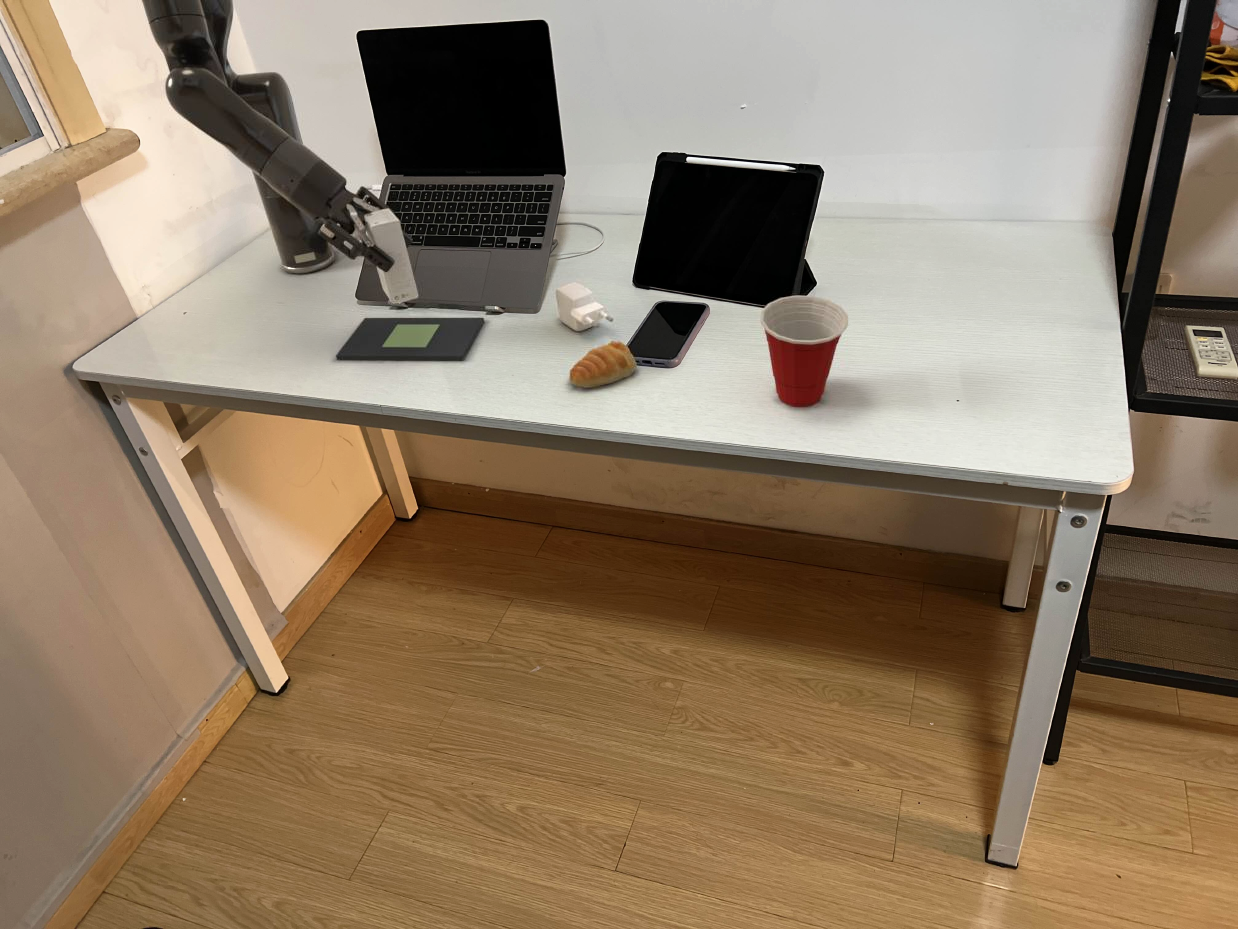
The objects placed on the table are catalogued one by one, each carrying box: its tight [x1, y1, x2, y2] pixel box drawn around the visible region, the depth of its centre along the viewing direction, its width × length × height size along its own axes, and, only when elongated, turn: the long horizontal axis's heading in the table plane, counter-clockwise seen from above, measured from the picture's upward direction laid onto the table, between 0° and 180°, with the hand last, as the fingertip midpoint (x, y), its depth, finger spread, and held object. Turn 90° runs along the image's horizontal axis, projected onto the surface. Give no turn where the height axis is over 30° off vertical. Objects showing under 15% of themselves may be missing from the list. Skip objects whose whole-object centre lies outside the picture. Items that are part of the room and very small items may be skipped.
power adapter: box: [555, 281, 614, 332], centre depth 139 cm, size 11×5×6 cm, turn 33°
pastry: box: [569, 340, 638, 389], centre depth 128 cm, size 9×7×4 cm
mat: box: [335, 317, 485, 362], centre depth 142 cm, size 12×20×1 cm, turn 81°
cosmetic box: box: [364, 207, 419, 305], centre depth 134 cm, size 6×4×12 cm
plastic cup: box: [759, 295, 849, 408], centre depth 117 cm, size 11×11×12 cm
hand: (400, 255), depth 134 cm, fingers closed on cosmetic box, 7 cm apart
